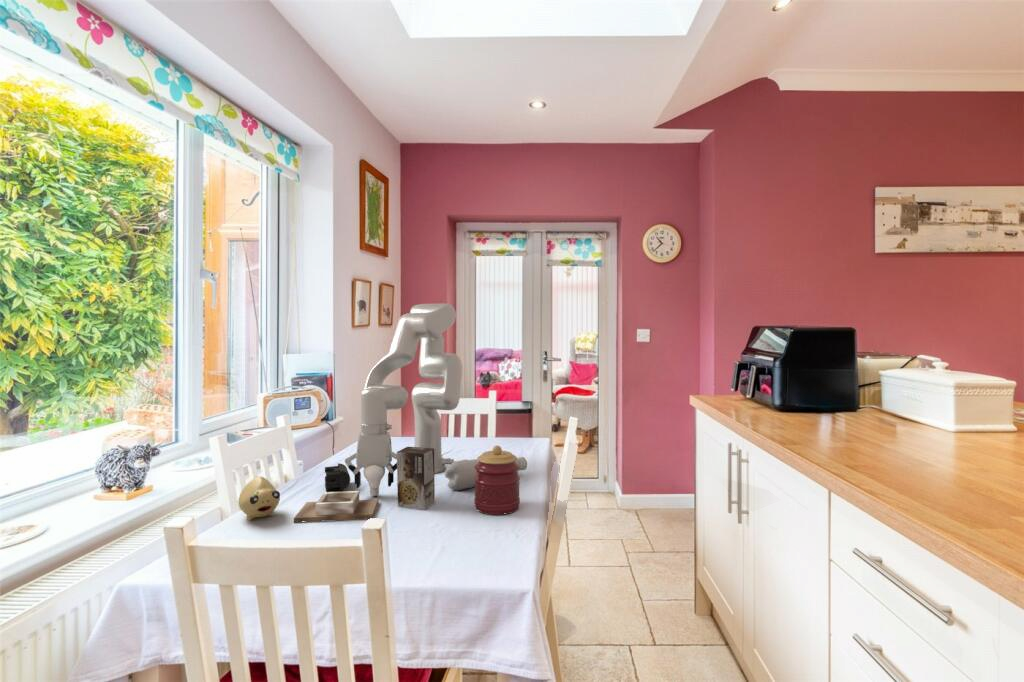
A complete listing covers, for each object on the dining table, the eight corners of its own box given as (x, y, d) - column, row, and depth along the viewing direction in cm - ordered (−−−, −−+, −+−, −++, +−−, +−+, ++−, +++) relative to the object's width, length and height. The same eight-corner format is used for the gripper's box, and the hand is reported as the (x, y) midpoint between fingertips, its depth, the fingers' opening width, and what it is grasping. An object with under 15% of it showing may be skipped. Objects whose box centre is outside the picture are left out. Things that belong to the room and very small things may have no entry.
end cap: (350, 491, 153) (350, 470, 153) (326, 494, 150) (326, 472, 150) (347, 482, 162) (347, 462, 162) (324, 485, 159) (324, 464, 159)
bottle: (462, 485, 148) (534, 470, 167) (453, 457, 152) (525, 446, 171) (448, 496, 153) (520, 480, 173) (440, 468, 157) (511, 456, 177)
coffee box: (435, 503, 142) (435, 448, 142) (424, 510, 136) (424, 453, 136) (408, 499, 145) (408, 445, 145) (396, 506, 139) (396, 450, 139)
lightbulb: (366, 493, 151) (365, 458, 150) (387, 492, 151) (386, 457, 151) (361, 500, 144) (361, 463, 144) (383, 499, 145) (383, 463, 145)
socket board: (378, 503, 142) (378, 488, 142) (372, 518, 130) (372, 503, 130) (306, 506, 139) (306, 491, 139) (293, 522, 127) (293, 506, 127)
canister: (485, 519, 130) (485, 453, 129) (467, 504, 141) (467, 443, 141) (528, 510, 136) (528, 448, 135) (507, 496, 147) (507, 438, 147)
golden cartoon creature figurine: (245, 529, 123) (244, 487, 123) (235, 515, 132) (234, 476, 132) (286, 519, 130) (286, 479, 129) (274, 507, 139) (274, 470, 139)
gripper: (404, 426, 152) (404, 481, 152) (346, 427, 150) (347, 483, 150) (402, 430, 145) (402, 488, 145) (341, 432, 142) (341, 491, 143)
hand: (374, 485), depth 147 cm, fingers open, 8 cm apart
